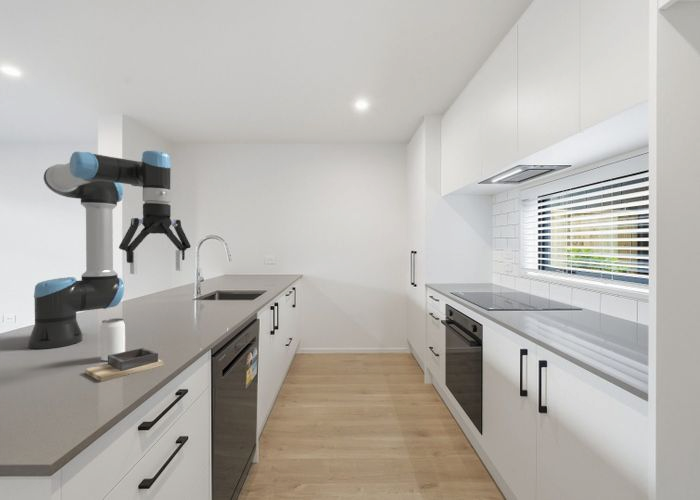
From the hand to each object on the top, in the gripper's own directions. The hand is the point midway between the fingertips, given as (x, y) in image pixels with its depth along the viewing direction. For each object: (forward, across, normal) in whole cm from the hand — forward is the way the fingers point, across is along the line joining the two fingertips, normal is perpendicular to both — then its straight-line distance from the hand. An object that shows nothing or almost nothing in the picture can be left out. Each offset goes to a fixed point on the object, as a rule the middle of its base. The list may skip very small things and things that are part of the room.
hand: (157, 272), depth 111 cm
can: (+28, -8, +11) cm, 31 cm away
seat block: (+27, -10, -3) cm, 29 cm away
